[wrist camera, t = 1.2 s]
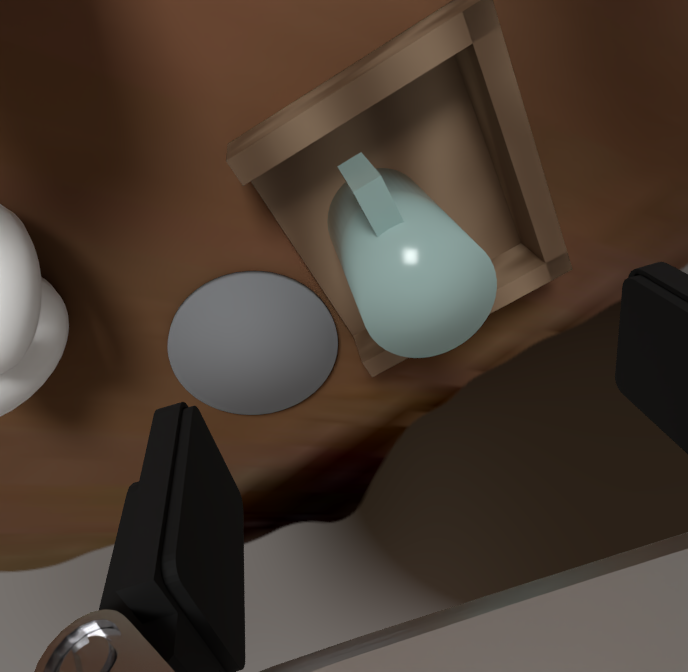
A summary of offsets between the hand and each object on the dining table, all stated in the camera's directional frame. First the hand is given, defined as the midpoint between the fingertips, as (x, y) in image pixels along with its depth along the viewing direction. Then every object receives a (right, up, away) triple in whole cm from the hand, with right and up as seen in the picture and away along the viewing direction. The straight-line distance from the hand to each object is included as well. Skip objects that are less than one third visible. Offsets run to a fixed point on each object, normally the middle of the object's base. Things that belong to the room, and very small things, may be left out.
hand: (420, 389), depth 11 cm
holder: (+2, +10, +22) cm, 24 cm away
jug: (0, +9, +21) cm, 23 cm away
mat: (-8, 0, +26) cm, 27 cm away
